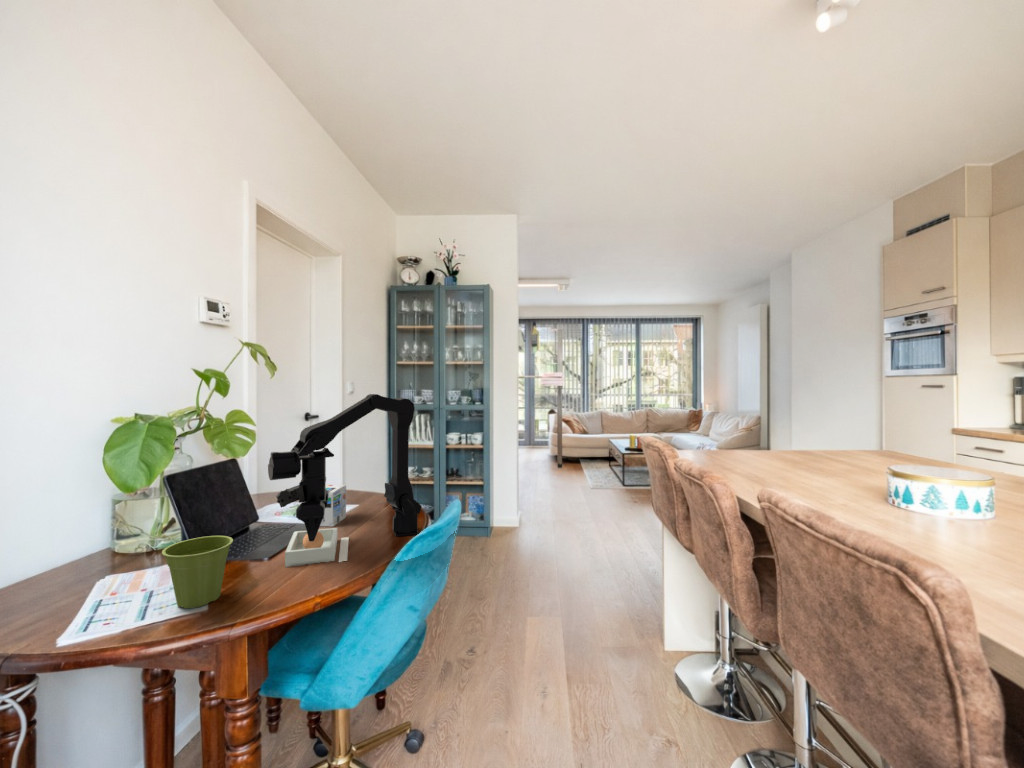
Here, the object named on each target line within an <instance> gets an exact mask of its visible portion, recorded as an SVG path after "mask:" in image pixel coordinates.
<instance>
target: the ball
mask: <svg viewBox="0 0 1024 768" xmlns="http://www.w3.org/2000/svg"><path fill="white" fill-rule="evenodd" d="M323 542H324V538H323V535H322V534H321V533H320V532H317V535H316V537H315V540H314V541H309V538H308V534H306V535H305V537H304V539H303V546H304V548H305V549H310V548H320V547H321V546H322V545H323Z"/></svg>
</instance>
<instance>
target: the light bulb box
mask: <svg viewBox="0 0 1024 768" xmlns="http://www.w3.org/2000/svg"><path fill="white" fill-rule="evenodd" d="M326 490H327V491H329V498H328V503H327V505H326V508H325V514H324V517H323V520H322V522H321V525H320V527H332V528H334V527H335V526H337V525H338V524H339V523H340V522H341V521H344V519H346V517H347V485H346V484H326ZM325 500H326V499H325ZM322 501H323V500H322Z"/></svg>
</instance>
